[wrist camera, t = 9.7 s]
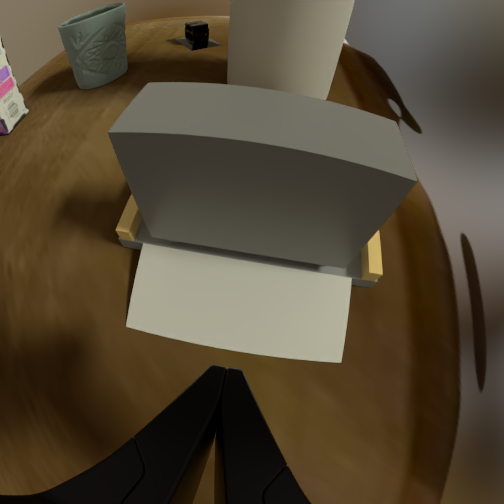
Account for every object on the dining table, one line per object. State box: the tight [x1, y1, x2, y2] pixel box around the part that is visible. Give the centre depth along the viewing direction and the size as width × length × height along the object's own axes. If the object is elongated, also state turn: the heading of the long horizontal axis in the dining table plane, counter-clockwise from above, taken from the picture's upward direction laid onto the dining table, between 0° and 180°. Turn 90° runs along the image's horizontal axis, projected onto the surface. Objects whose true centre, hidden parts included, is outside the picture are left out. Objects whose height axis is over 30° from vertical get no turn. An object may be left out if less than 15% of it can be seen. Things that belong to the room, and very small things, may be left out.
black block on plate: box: [175, 21, 221, 51], centre depth 35 cm, size 12×7×5 cm, turn 31°
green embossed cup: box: [58, 3, 128, 89], centre depth 25 cm, size 10×10×12 cm
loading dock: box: [116, 194, 383, 363], centre depth 19 cm, size 20×18×3 cm
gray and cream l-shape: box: [108, 82, 417, 268], centre depth 16 cm, size 12×12×10 cm
